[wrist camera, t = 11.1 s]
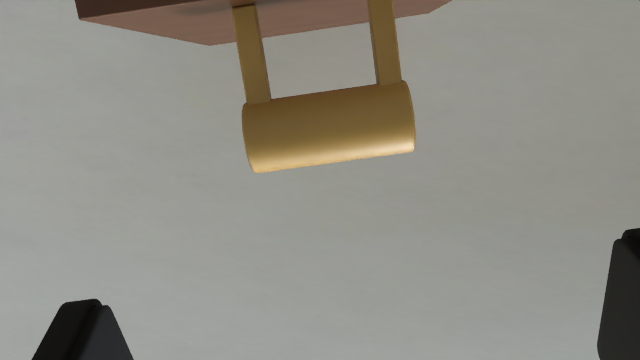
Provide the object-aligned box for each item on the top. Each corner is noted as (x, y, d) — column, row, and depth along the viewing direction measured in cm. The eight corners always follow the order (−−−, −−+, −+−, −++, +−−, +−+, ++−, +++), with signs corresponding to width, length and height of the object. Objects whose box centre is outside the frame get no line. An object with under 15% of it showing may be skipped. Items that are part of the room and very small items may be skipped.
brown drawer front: (71, -12, 14) (119, 204, 15) (543, -85, 14) (557, 144, 15) (206, 30, 30) (224, 136, 31) (427, -3, 29) (438, 105, 30)
